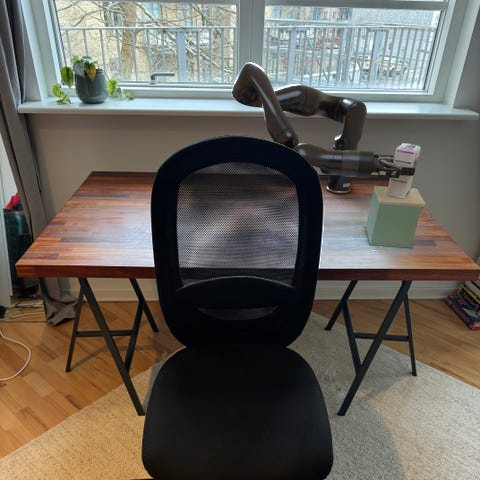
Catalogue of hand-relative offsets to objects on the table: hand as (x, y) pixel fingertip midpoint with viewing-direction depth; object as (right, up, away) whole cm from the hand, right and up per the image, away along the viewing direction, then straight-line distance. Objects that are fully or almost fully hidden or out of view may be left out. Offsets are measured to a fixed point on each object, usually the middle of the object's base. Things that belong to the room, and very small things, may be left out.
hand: (411, 167), depth 135 cm
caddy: (-3, -18, +14) cm, 23 cm away
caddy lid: (-2, -7, +6) cm, 9 cm away
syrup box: (-2, -7, +5) cm, 9 cm away
